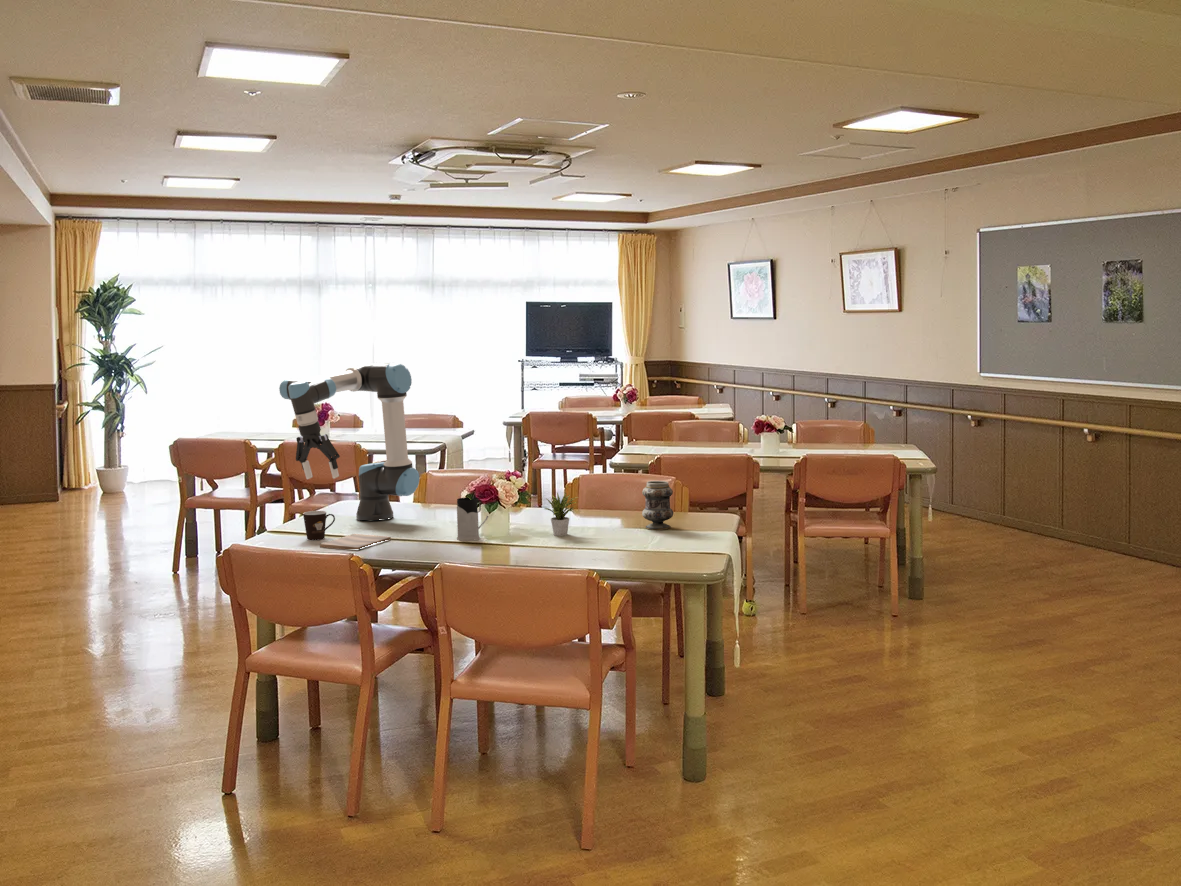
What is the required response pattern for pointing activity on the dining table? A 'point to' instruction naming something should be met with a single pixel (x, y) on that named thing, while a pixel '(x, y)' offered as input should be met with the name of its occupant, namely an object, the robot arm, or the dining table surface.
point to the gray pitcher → (468, 519)
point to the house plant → (560, 515)
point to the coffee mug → (316, 524)
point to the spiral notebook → (354, 541)
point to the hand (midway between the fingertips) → (322, 477)
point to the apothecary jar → (657, 504)
